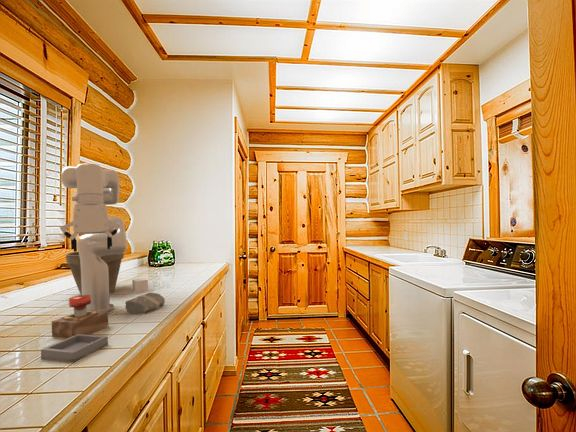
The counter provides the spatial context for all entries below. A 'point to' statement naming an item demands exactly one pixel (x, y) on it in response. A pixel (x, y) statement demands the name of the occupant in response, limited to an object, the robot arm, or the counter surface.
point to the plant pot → (111, 260)
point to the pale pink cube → (140, 285)
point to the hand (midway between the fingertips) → (92, 250)
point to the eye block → (79, 324)
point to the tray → (74, 348)
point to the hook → (80, 304)
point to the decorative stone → (145, 303)
